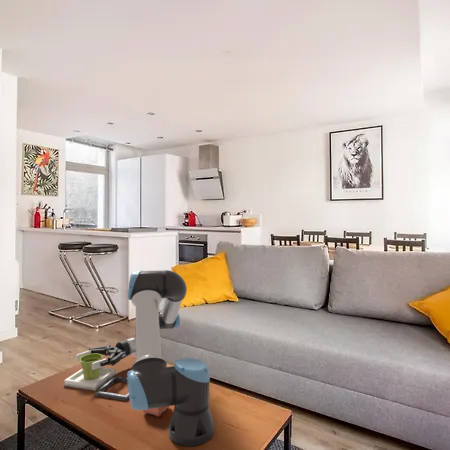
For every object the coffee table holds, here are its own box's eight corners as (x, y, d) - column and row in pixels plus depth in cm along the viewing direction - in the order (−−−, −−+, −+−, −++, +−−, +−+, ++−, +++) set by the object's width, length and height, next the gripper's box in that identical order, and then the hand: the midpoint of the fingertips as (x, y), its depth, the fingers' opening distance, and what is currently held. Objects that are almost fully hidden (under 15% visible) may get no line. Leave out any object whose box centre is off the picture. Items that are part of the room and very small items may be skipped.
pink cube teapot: (148, 401, 128) (149, 380, 128) (175, 409, 123) (175, 387, 123) (136, 412, 121) (136, 390, 121) (163, 420, 116) (163, 397, 116)
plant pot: (94, 383, 140) (94, 363, 140) (74, 380, 142) (75, 360, 142) (106, 373, 149) (106, 354, 149) (88, 371, 151) (88, 352, 151)
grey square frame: (126, 400, 128) (126, 397, 128) (95, 395, 132) (95, 392, 132) (143, 383, 142) (143, 380, 142) (115, 379, 145) (115, 376, 145)
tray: (95, 390, 136) (95, 384, 136) (64, 385, 140) (64, 379, 140) (115, 374, 150) (115, 369, 150) (87, 370, 154) (87, 365, 154)
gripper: (142, 362, 151) (99, 379, 135) (112, 349, 167) (70, 362, 150) (142, 346, 151) (99, 361, 135) (112, 334, 167) (70, 346, 150)
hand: (84, 362), depth 142 cm, fingers open, 13 cm apart
